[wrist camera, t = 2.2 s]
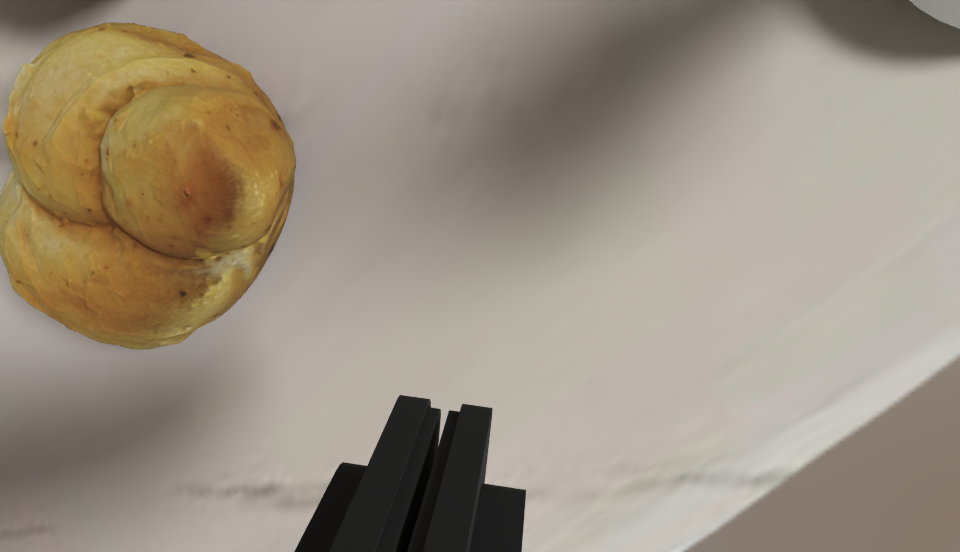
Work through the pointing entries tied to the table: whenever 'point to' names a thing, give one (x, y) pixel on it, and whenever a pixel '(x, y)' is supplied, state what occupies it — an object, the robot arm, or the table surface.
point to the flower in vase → (941, 10)
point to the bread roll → (140, 184)
